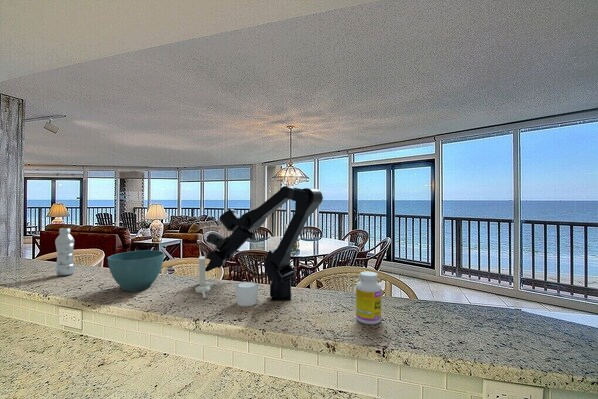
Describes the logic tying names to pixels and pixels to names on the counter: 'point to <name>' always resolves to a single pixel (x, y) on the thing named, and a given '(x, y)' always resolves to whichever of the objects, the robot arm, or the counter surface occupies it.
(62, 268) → the plastic bottle
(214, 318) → the counter surface
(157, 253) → the teal bowl
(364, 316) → the supplement bottle
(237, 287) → the white cup
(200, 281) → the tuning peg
